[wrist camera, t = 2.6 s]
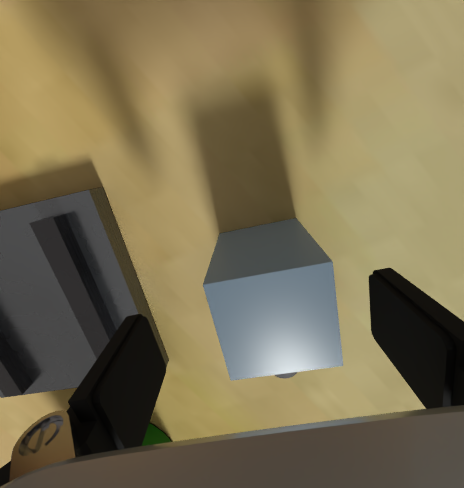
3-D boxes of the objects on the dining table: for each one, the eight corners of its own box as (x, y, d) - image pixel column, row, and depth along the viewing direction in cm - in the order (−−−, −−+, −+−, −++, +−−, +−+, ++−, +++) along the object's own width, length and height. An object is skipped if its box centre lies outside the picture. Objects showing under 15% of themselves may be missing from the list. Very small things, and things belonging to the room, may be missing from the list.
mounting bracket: (102, 186, 16) (77, 192, 13) (168, 360, 20) (158, 387, 18) (-82, 230, 17) (-133, 242, 15) (16, 382, 22) (-11, 409, 19)
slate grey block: (295, 217, 16) (332, 261, 9) (308, 306, 18) (346, 393, 11) (219, 233, 16) (202, 284, 10) (240, 316, 19) (238, 405, 12)
